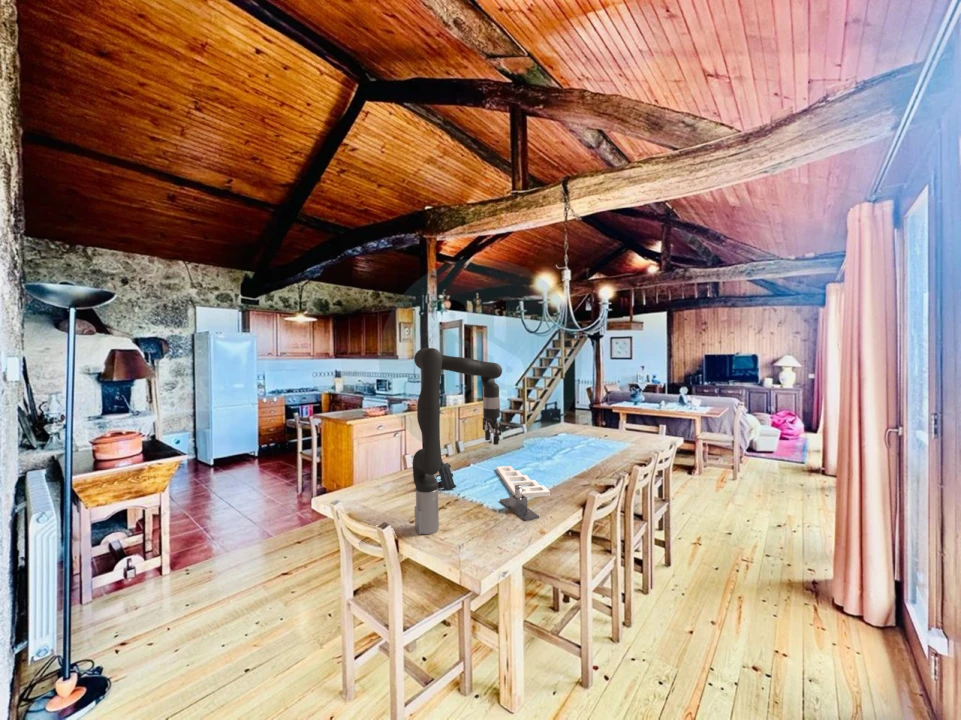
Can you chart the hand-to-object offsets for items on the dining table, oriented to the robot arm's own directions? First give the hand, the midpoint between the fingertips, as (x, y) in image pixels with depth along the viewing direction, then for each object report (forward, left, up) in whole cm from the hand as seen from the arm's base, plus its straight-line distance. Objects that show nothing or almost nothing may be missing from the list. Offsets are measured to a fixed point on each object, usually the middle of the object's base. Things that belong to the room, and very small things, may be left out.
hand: (491, 442), depth 185 cm
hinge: (+12, -3, -32) cm, 34 cm away
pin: (+12, -3, -32) cm, 34 cm away
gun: (-12, +36, -32) cm, 50 cm away
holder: (+32, +29, -33) cm, 54 cm away
